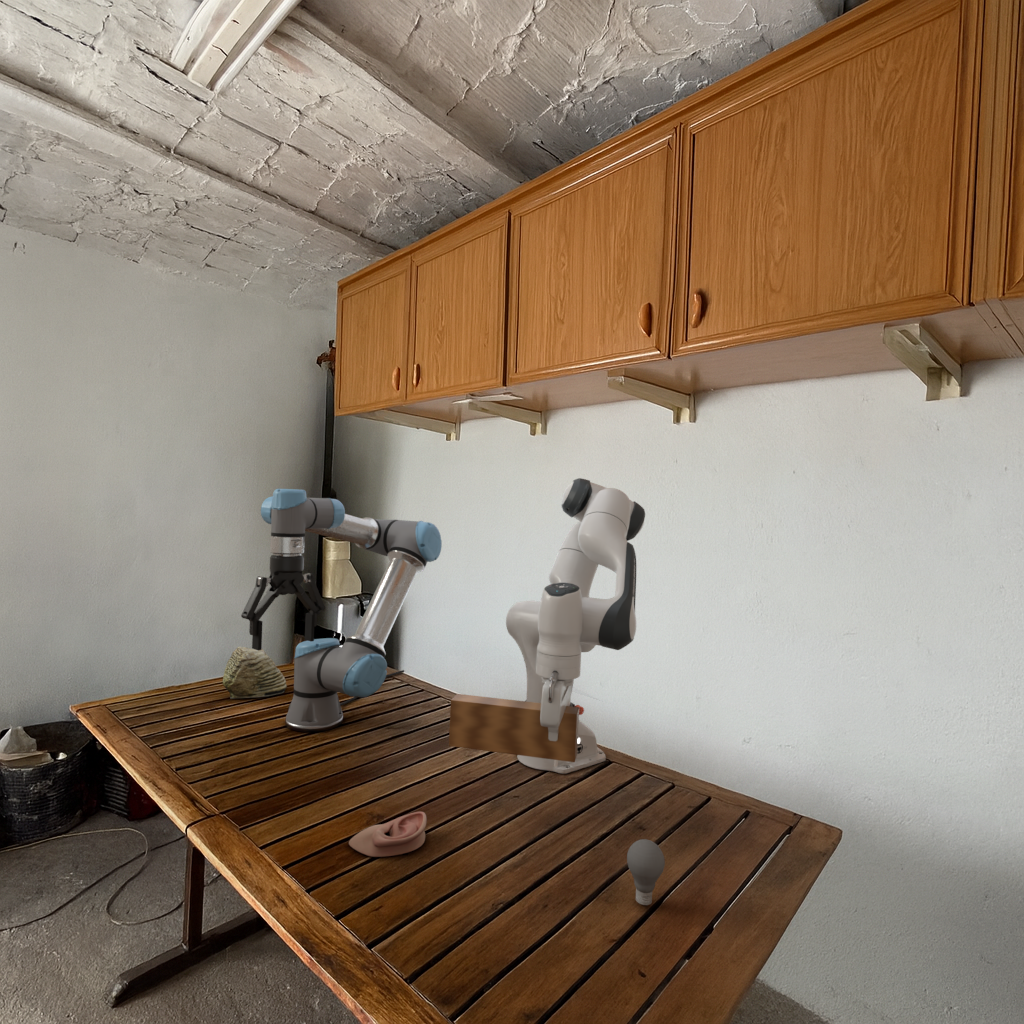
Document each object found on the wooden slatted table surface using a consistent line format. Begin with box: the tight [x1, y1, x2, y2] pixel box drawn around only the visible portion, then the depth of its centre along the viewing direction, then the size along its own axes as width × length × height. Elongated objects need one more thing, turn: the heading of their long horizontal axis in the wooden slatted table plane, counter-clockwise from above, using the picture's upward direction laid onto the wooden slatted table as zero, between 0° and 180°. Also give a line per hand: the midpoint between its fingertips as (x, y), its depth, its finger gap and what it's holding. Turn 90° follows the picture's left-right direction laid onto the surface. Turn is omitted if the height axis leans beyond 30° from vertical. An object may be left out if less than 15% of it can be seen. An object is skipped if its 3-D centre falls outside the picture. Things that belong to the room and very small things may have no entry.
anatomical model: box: [348, 811, 428, 858], centre depth 117 cm, size 13×4×12 cm
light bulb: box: [626, 838, 666, 906], centre depth 102 cm, size 6×6×10 cm
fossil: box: [222, 646, 288, 699], centre depth 198 cm, size 9×18×15 cm, turn 132°
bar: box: [448, 693, 580, 762], centre depth 128 cm, size 26×4×10 cm, turn 78°
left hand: (283, 644), depth 149 cm, fingers open, 13 cm apart
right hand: (555, 734), depth 126 cm, fingers closed on bar, 4 cm apart
